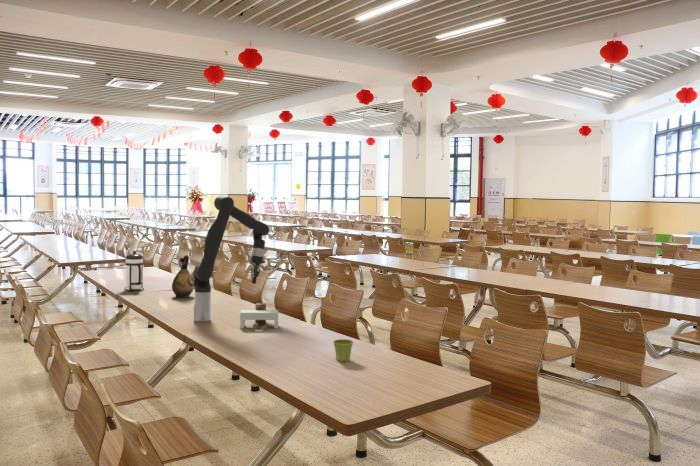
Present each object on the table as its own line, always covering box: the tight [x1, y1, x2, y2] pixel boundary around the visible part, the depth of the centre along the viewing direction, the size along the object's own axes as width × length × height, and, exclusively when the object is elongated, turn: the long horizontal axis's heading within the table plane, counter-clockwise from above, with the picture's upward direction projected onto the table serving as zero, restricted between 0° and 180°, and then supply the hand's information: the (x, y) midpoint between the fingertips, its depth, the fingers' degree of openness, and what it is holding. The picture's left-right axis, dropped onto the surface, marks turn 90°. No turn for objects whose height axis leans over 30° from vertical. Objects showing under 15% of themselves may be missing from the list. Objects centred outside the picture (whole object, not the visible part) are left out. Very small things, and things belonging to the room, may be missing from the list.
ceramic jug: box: [171, 254, 195, 299], centre depth 410 cm, size 17×15×30 cm
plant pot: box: [332, 338, 355, 363], centre depth 264 cm, size 9×9×9 cm
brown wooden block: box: [252, 302, 268, 331], centre depth 325 cm, size 8×15×12 cm, turn 7°
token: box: [253, 328, 264, 333], centre depth 315 cm, size 5×5×1 cm
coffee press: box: [124, 250, 145, 292], centre depth 431 cm, size 17×16×30 cm
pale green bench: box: [239, 309, 279, 330], centre depth 324 cm, size 21×8×9 cm, turn 97°
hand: (253, 283), depth 354 cm, fingers closed
